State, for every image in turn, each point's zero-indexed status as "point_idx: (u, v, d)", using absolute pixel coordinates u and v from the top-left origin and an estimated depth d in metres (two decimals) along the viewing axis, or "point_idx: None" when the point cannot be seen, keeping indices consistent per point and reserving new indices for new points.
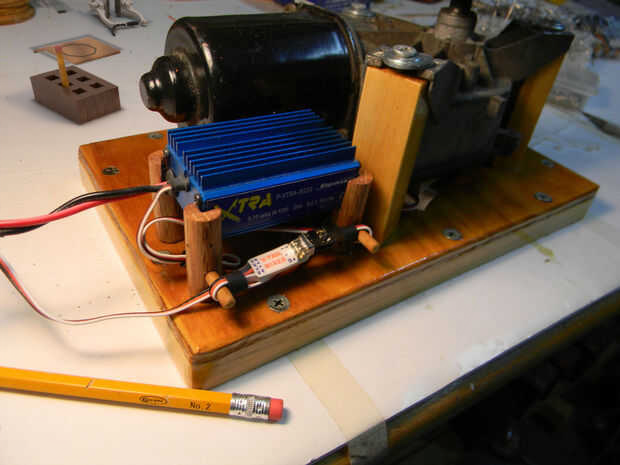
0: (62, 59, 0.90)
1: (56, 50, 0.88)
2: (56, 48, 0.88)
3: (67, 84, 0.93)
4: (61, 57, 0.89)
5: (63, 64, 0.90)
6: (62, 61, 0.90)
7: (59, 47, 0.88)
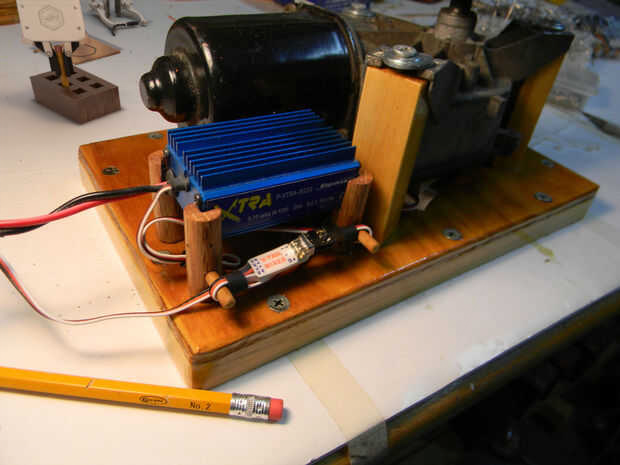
0: (62, 59, 0.90)
1: (56, 50, 0.88)
2: (56, 48, 0.88)
3: (67, 84, 0.93)
4: (61, 57, 0.89)
5: (63, 64, 0.90)
6: (62, 61, 0.90)
7: (59, 47, 0.88)
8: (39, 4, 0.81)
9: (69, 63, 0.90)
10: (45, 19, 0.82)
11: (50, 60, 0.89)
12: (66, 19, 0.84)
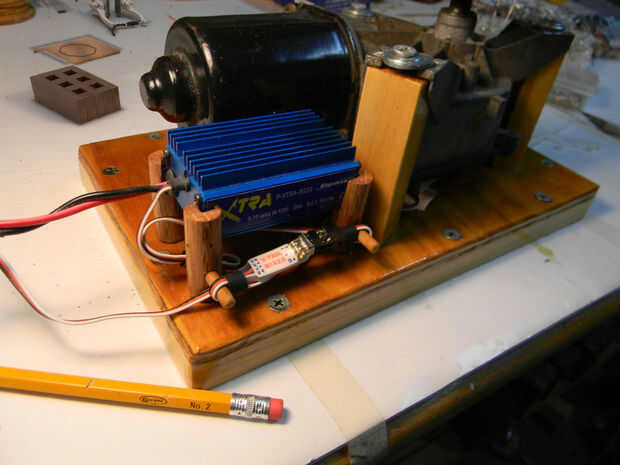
0: None
1: None
2: None
3: None
4: None
5: None
6: None
7: None
8: None
9: None
10: None
11: None
12: None
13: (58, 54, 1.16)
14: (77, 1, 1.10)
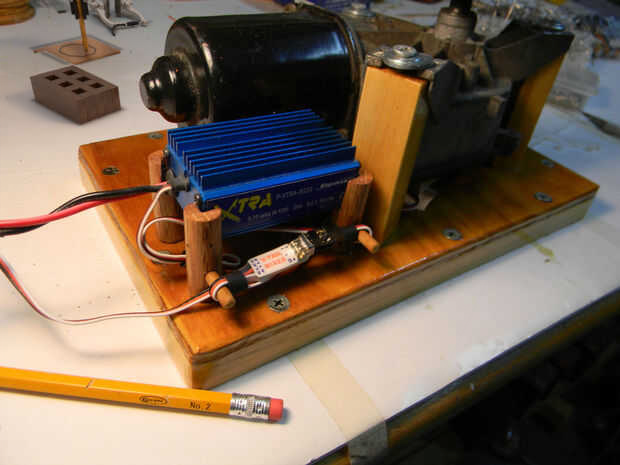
0: (80, 5, 1.13)
1: None
2: None
3: (83, 26, 1.16)
4: (80, 3, 1.12)
5: (81, 9, 1.13)
6: (80, 6, 1.13)
7: None
8: None
9: (86, 8, 1.13)
10: None
11: (71, 5, 1.12)
12: None
13: (58, 54, 1.16)
14: (87, 50, 1.20)
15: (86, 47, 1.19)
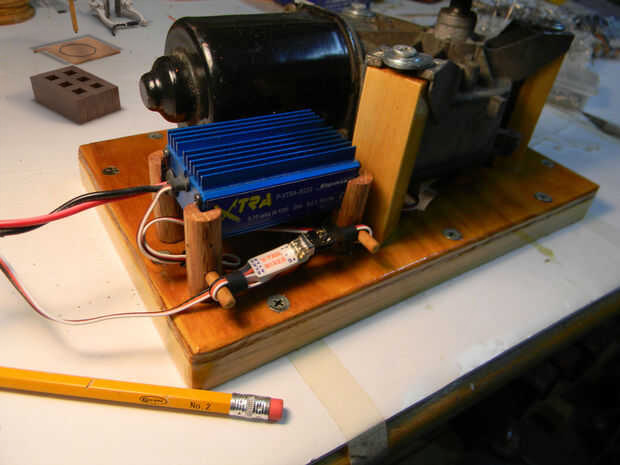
0: None
1: None
2: None
3: (73, 7, 1.14)
4: None
5: None
6: None
7: None
8: None
9: None
10: None
11: None
12: None
13: (58, 54, 1.16)
14: (77, 32, 1.18)
15: (76, 29, 1.18)
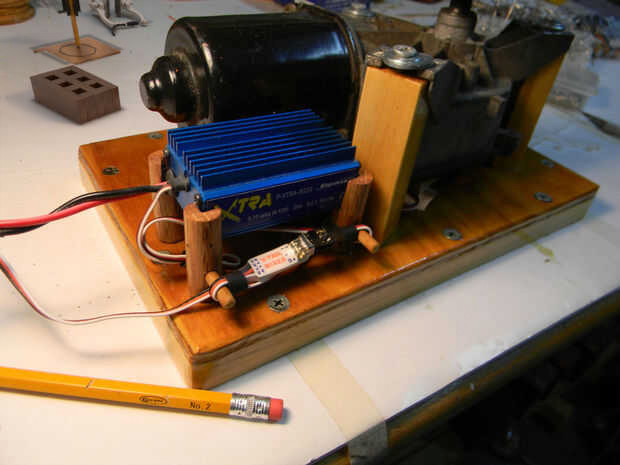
0: (72, 1, 1.14)
1: None
2: None
3: (75, 23, 1.17)
4: (71, 0, 1.13)
5: (72, 5, 1.14)
6: (72, 3, 1.14)
7: None
8: None
9: (77, 4, 1.14)
10: None
11: (62, 1, 1.13)
12: None
13: (58, 54, 1.16)
14: None
15: (78, 44, 1.20)
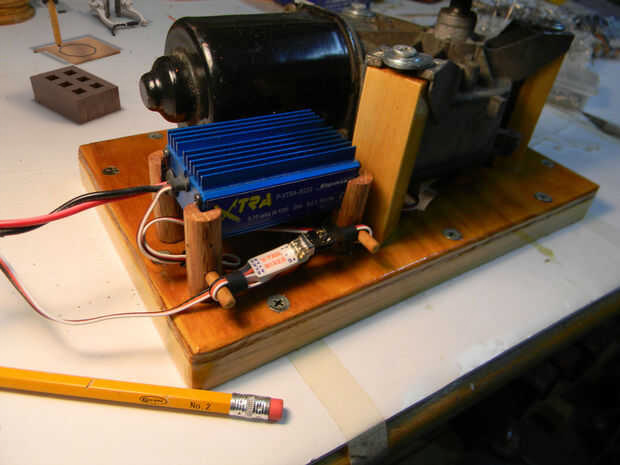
0: None
1: None
2: None
3: (55, 13, 0.86)
4: None
5: None
6: None
7: None
8: None
9: None
10: None
11: None
12: None
13: (58, 54, 1.16)
14: (60, 46, 0.90)
15: (59, 42, 0.89)
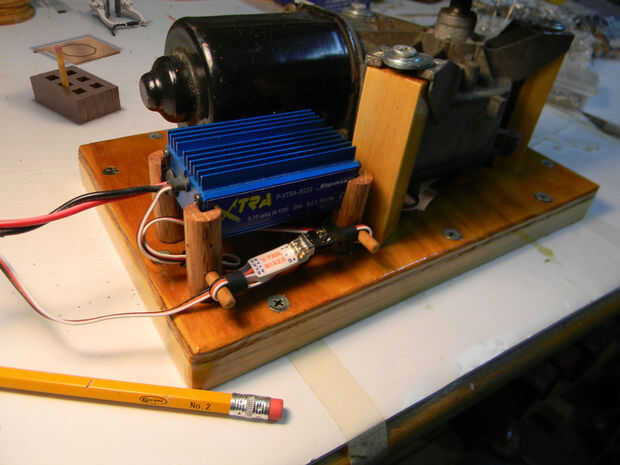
0: (62, 59, 0.89)
1: (56, 50, 0.88)
2: (56, 48, 0.88)
3: (67, 84, 0.93)
4: (61, 58, 0.89)
5: (63, 64, 0.90)
6: (62, 61, 0.90)
7: (59, 47, 0.88)
8: None
9: None
10: None
11: None
12: None
13: None
14: None
15: None
